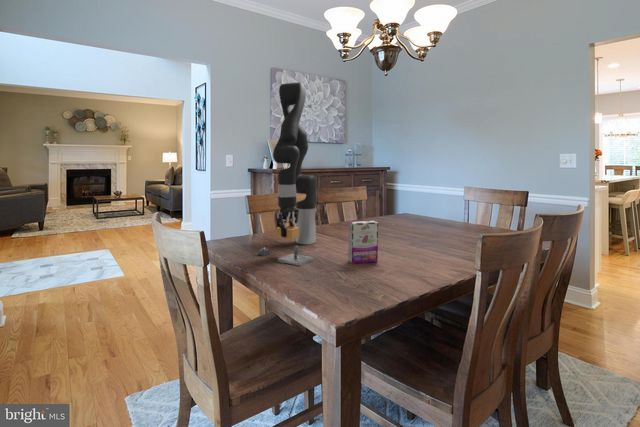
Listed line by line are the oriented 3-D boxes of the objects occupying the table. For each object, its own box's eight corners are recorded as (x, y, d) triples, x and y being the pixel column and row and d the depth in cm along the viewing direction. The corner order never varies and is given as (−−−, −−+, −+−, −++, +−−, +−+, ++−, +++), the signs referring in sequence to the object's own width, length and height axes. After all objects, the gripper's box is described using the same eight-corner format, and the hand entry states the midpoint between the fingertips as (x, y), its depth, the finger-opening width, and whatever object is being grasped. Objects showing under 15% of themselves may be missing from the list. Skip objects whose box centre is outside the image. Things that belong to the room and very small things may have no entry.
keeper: (292, 256, 157) (292, 241, 157) (314, 260, 152) (314, 245, 151) (277, 261, 149) (277, 246, 148) (300, 265, 143) (300, 250, 142)
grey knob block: (264, 252, 163) (264, 246, 162) (269, 253, 161) (269, 247, 161) (258, 254, 159) (258, 248, 159) (263, 255, 158) (263, 249, 157)
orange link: (283, 234, 160) (283, 225, 159) (299, 236, 156) (299, 227, 155) (276, 237, 155) (276, 227, 155) (292, 239, 152) (292, 229, 151)
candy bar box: (372, 259, 155) (374, 220, 152) (377, 262, 150) (379, 222, 147) (347, 260, 152) (348, 221, 149) (351, 264, 147) (352, 223, 144)
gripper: (289, 192, 161) (290, 231, 163) (269, 196, 148) (270, 238, 151) (304, 193, 157) (304, 233, 160) (284, 197, 145) (285, 240, 148)
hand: (287, 235), depth 155 cm, fingers closed on orange link, 5 cm apart
